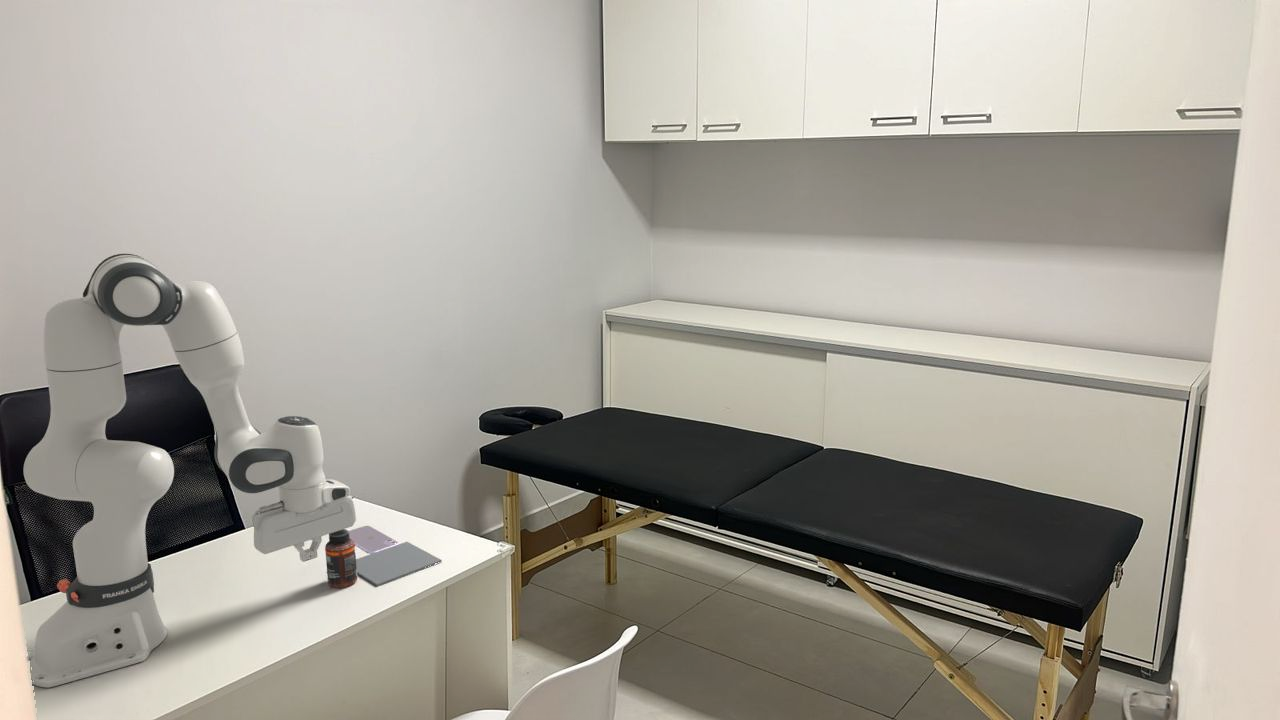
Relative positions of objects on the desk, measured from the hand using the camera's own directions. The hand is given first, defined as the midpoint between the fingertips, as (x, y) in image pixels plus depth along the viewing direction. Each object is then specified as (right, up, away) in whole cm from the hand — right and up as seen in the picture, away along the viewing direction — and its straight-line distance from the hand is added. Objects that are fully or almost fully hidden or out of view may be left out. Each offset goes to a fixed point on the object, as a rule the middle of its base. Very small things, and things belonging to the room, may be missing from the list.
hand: (308, 558), depth 180 cm
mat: (+13, -5, +15) cm, 20 cm away
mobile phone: (+4, -2, +28) cm, 28 cm away
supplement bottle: (+5, -7, +7) cm, 11 cm away
